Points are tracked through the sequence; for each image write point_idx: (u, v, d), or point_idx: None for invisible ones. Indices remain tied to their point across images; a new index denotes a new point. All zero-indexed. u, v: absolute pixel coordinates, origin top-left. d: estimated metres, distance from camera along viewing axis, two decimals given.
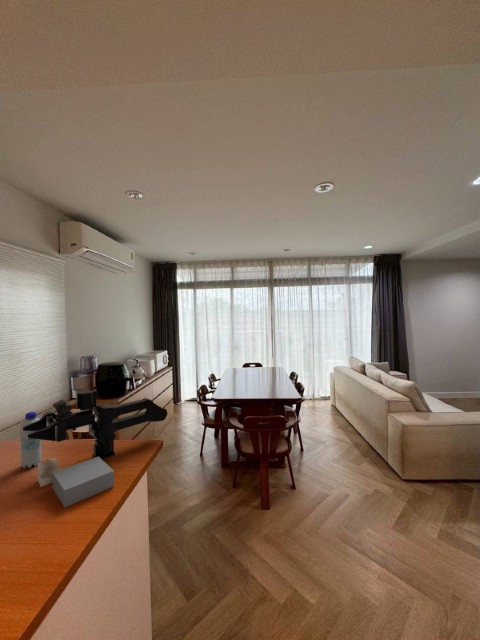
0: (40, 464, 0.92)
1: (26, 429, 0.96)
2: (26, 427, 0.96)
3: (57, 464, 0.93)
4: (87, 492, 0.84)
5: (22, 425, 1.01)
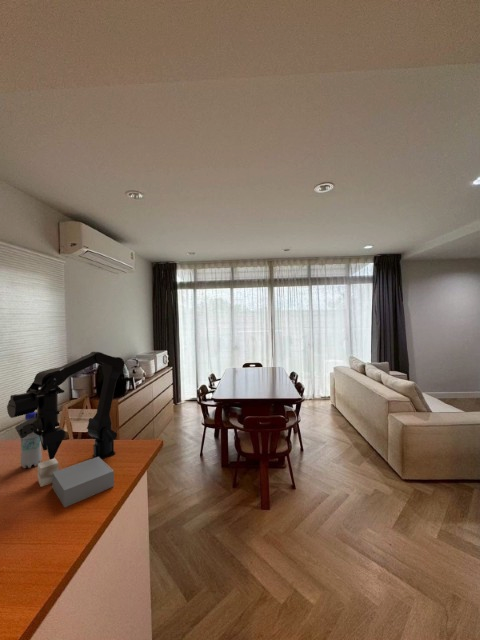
0: (40, 464, 0.92)
1: (46, 447, 0.96)
2: (44, 447, 0.96)
3: (57, 464, 0.93)
4: (87, 492, 0.84)
5: None
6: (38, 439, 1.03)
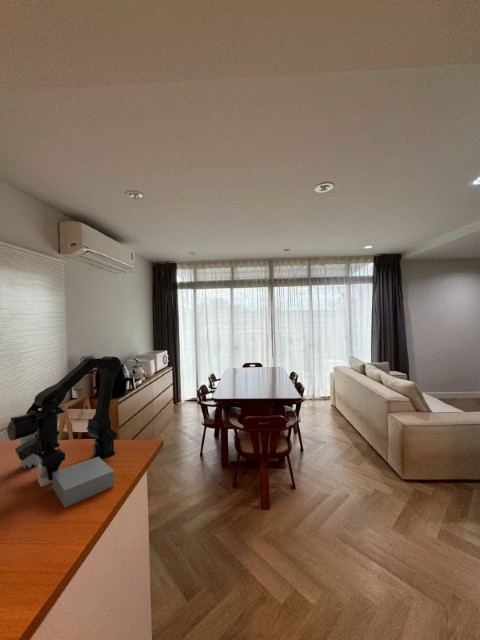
0: (40, 464, 0.92)
1: None
2: None
3: None
4: (87, 492, 0.84)
5: None
6: None
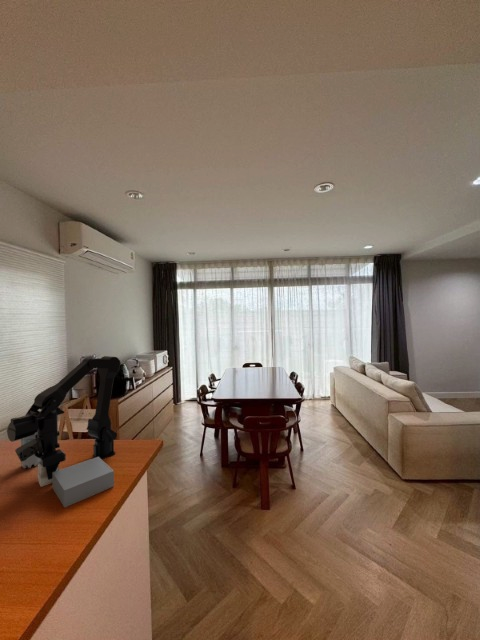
0: (40, 464, 0.92)
1: None
2: None
3: None
4: (87, 492, 0.84)
5: None
6: None
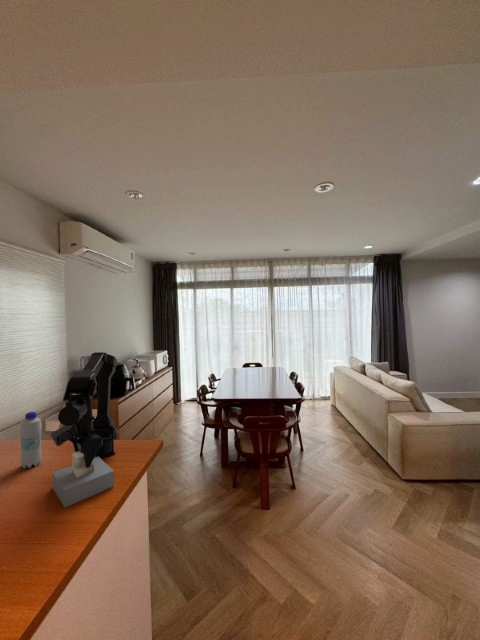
0: (75, 454, 0.88)
1: None
2: None
3: None
4: (87, 492, 0.84)
5: (22, 425, 1.01)
6: (38, 439, 1.03)
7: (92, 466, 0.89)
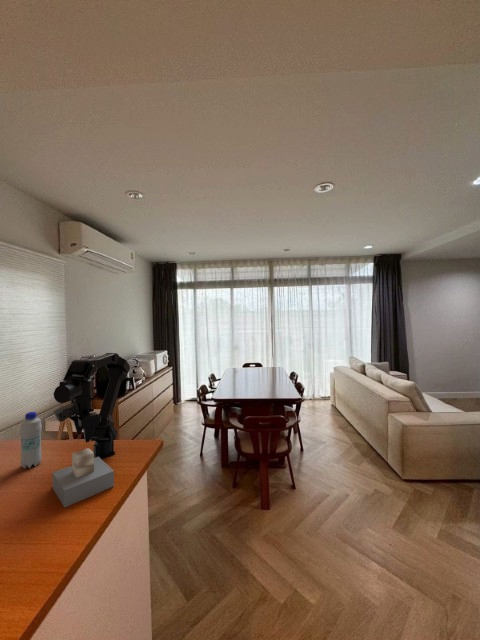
0: (75, 454, 0.88)
1: (80, 431, 1.01)
2: (78, 432, 1.01)
3: (92, 454, 0.89)
4: (87, 492, 0.84)
5: (22, 425, 1.01)
6: (38, 439, 1.03)
7: (92, 466, 0.89)
